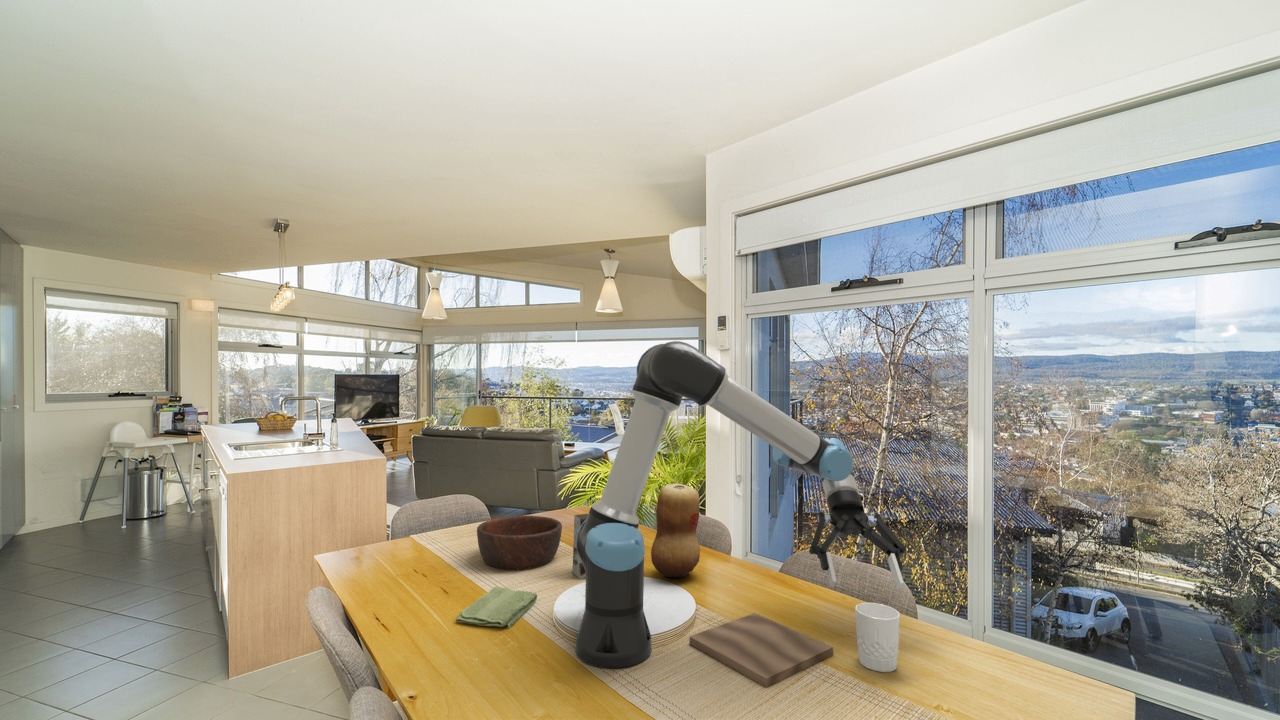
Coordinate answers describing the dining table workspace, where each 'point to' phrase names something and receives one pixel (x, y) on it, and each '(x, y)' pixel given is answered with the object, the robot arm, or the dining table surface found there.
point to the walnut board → (761, 648)
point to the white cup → (877, 636)
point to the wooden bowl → (519, 541)
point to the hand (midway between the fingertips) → (866, 585)
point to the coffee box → (577, 563)
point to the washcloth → (498, 608)
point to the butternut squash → (676, 531)
